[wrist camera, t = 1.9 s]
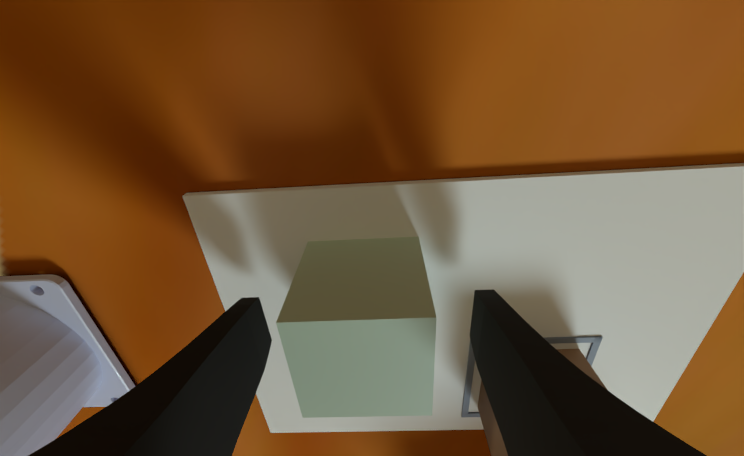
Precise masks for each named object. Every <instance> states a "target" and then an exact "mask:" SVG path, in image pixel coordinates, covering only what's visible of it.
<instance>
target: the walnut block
mask: <svg viewBox="0 0 744 456" xmlns="http://www.w3.org/2000/svg"><path fill="white" fill-rule="evenodd" d="M556 350H558V351H559V352H560V353H561V354H562V355H564V356H565V357H566V358H567V359H568V360H569V361H571V362H572V363H573V364H574V365H575V366H577V367H578V368H579V369H580V370H582V371H583V372H584V373H585V374H587V375H588V376H589V377H591V378H592V379H593V380H595V381H596V382H597V383H599V384H600V385H601V386H603V387H604V388H605V389H607V388H606V387H605V386H604V384H603V383H602V381H601V380H600V378H599V377H598V375H597V374H596V373H595V371H594V370H593V368H592V367H591V365H590V364H589V362H588V361H587V359H586V358H585V357H584V355H583V354H582V352H581V351H580V349H556ZM477 407H478V410H479V414H480V418H481V421H482V425H483V428H484V432H485V435H486V439H487V442H488V446H489V449H490V453H491V456H508V454H507V451H506V448H505V444H504V441H503V438H502V435H501V432H500V430H499V427H498V424H497V421H496V419H495V416H494V413H493V410H492V408H491V405H490V402H489V399H488V396H487V394H486V391H485V388H484V385H483V382H482V380H481V387H480V393H479V400H478V406H477Z"/></svg>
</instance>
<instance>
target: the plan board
mask: <svg viewBox="0 0 744 456" xmlns="http://www.w3.org/2000/svg"><path fill="white" fill-rule="evenodd" d="M182 197H183V200H184V202H185V205H186V208H187V210H188V213H189V216H190V218H191V221H192V224H193V226H194V229H195V232H196V234H197V237H198V240H199V242H200V245H201V248H202V250H203V253H204V256H205V258H206V261H207V264H208V266H209V269H210V272H211V274H212V277H213V280H214V282H215V285H216V288H217V290H218V293H219V296H220V298H221V301H222V304H223V306H224V309H225V312H226V311H227V310H228V309H229V308H230V307H231V306H232V305H234V304H235V303H236V302H237V301H238V300H239V299H241V298H248V297H259V299H260V302H261V305H262V309H263V312H264V315H265V319H266V322H267V325H268V329H269V332H270V335H271V339H272V343H271V347H270V351H269V355H268V359H267V363H266V366H265V370H264V373H263V375H262V378H261V381H260V383H259V386H258V388H257V391H256V394H257V397H258V400H259V402H260V405H261V408H262V411H263V413H264V416H265V419H266V421H267V424H268V427H269V429H270V432H271V433H286V432H353V431H419V430H484V428H483V425H482V421H481V418H480V414H479V410H478V407H477V406H478V400H479V393H480V387H481V377H480V374H479V371H478V368H477V365H476V361H475V357H474V353H473V349H472V344H471V340H470V327H471V318H472V309H473V301H474V292H475V290H491V289H494V290H495V291H496V292H497V293H498V294H499V295H500V296H501V297H502V298H503V299H504V300H505V301H506V302H507V303H508V304H509V305H510V306H511V307H512V308H513V309H514V310H515V311H516V312H517V313H518V314H519V315H520V316H521V317H522V318H523V319H524V320H525V321H526V322H527V323H528V324H529V325H530V326H531V327H532V328H534V329H535V330H536V331H537V332H538V333H539V334H540V335H541V336H542V337H543V338H544V339H545V340H546V341H548V342H549V343H550V344H551V345H552V346H553V347H554V348H555V349H580V351H581V352H582V354H583V355H584V357H585V358H586V359H587V361H588V362H589V364H590V365H591V367H592V368H593V370H594V371H595V373H596V374H597V375H598V377H599V378H600V380H601V381H602V383H603V384H604V386H605V387H606V388H607V390H608V391H609V392H611V393H612V394H613V395H615V396H616V397H617V398H619V399H620V400H622V401H623V402H625V403H626V404H627V405H629V406H630V407H632V408H633V409H635V410H636V411H638V412H639V413H641V414H642V415H644V416H645V417H647V418H648V419H650V420H651V421H654V419H655V418H656V416H657V414H658V413H659V411H660V410H661V408H662V406H663V405H664V403H665V401H666V400H667V398H668V396H669V395H670V393H671V391H672V390H673V388H674V386H675V385H676V383H677V381H678V380H679V378H680V376H681V375H682V373H683V371H684V370H685V368H686V366H687V365H688V363H689V362H690V360H691V358H692V357H693V355H694V353H695V352H696V350H697V348H698V347H699V345H700V343H701V342H702V340H703V338H704V337H705V335H706V333H707V332H708V330H709V328H710V327H711V325H712V323H713V322H714V320H715V319H716V317H717V315H718V314H719V312H720V310H721V309H722V307H723V305H724V304H725V302H726V300H727V299H728V297H729V295H730V294H731V292H732V290H733V289H734V287H735V285H736V284H737V282H738V280H739V279H740V277H741V275H742V274H743V272H744V163H735V164H716V165H697V166H678V167H660V168H641V169H622V170H604V171H585V172H566V173H547V174H529V175H510V176H491V177H472V178H454V179H435V180H416V181H397V182H379V183H360V184H341V185H322V186H304V187H285V188H266V189H248V190H229V191H210V192H191V193H186V194H184V195H183V196H182ZM397 237H419V241H420V245H421V250H422V254H423V259H424V263H425V268H426V272H427V277H428V281H429V286H430V290H431V295H432V299H433V304H434V309H435V313H436V340H435V363H434V386H433V408H432V416H374V417H316V418H303V417H302V414H301V410H300V407H299V403H298V399H297V396H296V392H295V389H294V385H293V382H292V378H291V374H290V371H289V367H288V364H287V360H286V357H285V353H284V350H283V346H282V342H281V339H280V335H279V332H278V328H277V325H276V321H277V319H278V316H279V314H280V311H281V309H282V306H283V304H284V301H285V298H286V296H287V293H288V291H289V288H290V286H291V283H292V281H293V278H294V276H295V273H296V271H297V268H298V265H299V263H300V260H301V258H302V255H303V253H304V250H305V248H306V245H307V243H308V241H330V240H352V239H375V238H397Z"/></svg>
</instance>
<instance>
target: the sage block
mask: <svg viewBox="0 0 744 456" xmlns="http://www.w3.org/2000/svg"><path fill="white" fill-rule="evenodd" d="M276 325H277V328H278V332H279V335H280V339H281V342H282V346H283V350H284V353H285V357H286V360H287V364H288V367H289V371H290V374H291V378H292V382H293V385H294V389H295V392H296V396H297V399H298V403H299V407H300V410H301V414H302V417H303V418H316V417H374V416H432V408H433V386H434V363H435V340H436V313H435V309H434V304H433V299H432V295H431V290H430V286H429V281H428V277H427V272H426V268H425V263H424V259H423V254H422V250H421V245H420V241H419V237H397V238H375V239H352V240H330V241H308V243H307V245H306V248H305V250H304V253H303V255H302V258H301V260H300V263H299V265H298V268H297V271H296V273H295V276H294V278H293V281H292V283H291V286H290V288H289V291H288V293H287V296H286V298H285V301H284V304H283V306H282V309H281V311H280V314H279V316H278V319H277V321H276Z"/></svg>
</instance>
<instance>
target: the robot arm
mask: <svg viewBox="0 0 744 456" xmlns="http://www.w3.org/2000/svg"><path fill="white" fill-rule="evenodd" d="M470 340H471V344H472V349H473V353H474V357H475V361H476V365H477V368H478V371H479V374H480V377H481V380H482V382H483V385H484V388H485V391H486V394H487V396H488V399H489V402H490V405H491V408H492V410H493V413H494V416H495V419H496V421H497V424H498V427H499V430H500V432H501V435H502V438H503V441H504V444H505V448H506V451H507V454H508V456H706V455H705V454H703V453H701V452H700V451H698V450H696V449H695V448H693V447H691V446H690V445H688V444H687V443H685V442H684V441H682V440H680V439H679V438H677V437H676V436H674V435H672V434H671V433H669V432H668V431H666V430H665V429H663V428H662V427H660V426H659V425H657V424H656V423H654V422H653V421H651V420H650V419H648V418H647V417H645V416H644V415H642V414H641V413H639V412H638V411H636V410H635V409H633V408H632V407H630V406H629V405H627V404H626V403H625V402H623V401H622V400H620V399H619V398H617V397H616V396H615V395H613V394H612V393H611V392H609V391H608V390H607V389H605V388H604V387H603V386H601V385H600V384H599V383H597V382H596V381H595V380H593V379H592V378H591V377H589V376H588V375H587V374H585V373H584V372H583V371H582V370H580V369H579V368H578V367H577V366H575V365H574V364H573V363H572V362H571V361H569V360H568V359H567V358H566V357H565V356H564V355H562V354H561V353H560V352H559V351H558V350H556V349H555V348H554V347H553V346H552V345H551V344H550V343H549V342H548V341H546V340H545V339H544V338H543V337H542V336H541V335H540V334H539V333H538V332H537V331H536V330H535V329H534V328H532V327H531V326H530V325H529V324H528V323H527V322H526V321H525V320H524V319H523V318H522V317H521V316H520V315H519V314H518V313H517V312H516V311H515V310H514V309H513V308H512V307H511V306H510V305H509V304H508V303H507V302H506V301H505V300H504V299H503V298H502V297H501V296H500V295H499V294H498V293H497V292H496V291H495V290H494V289H491V290H475V292H474V301H473V309H472V318H471V327H470ZM271 343H272V339H271V335H270V332H269V329H268V325H267V322H266V319H265V315H264V312H263V309H262V305H261V302H260V299H259V297H248V298H241V299H239V300H238V301H237V302H236V303H235V304H234V305H232V306H231V307H230V308H229V309H228V310H227V311H226V312H224V313H223V314H222V315H221V316H220V317H219V318H218V319H217V320H216V321H214V322H213V323H212V324H211V325H210V326H209V327H208V328H207V329H205V330H204V331H203V332H202V333H201V334H200V335H199V336H197V337H196V338H195V339H194V340H193V341H192V342H191V343H189V344H188V345H187V346H186V347H185V348H183V349H182V350H181V351H180V352H179V353H177V354H176V355H175V356H174V357H172V358H171V359H170V360H169V361H167V362H166V363H165V364H164V365H163V366H161V367H160V368H159V369H158V370H156V371H155V372H154V373H153V374H151V375H150V376H149V377H147V378H146V379H145V380H143V381H142V382H141V383H139V384H138V385H137V386H135V385H134V383H133V382H132V380H131V379H130V377H129V375H128V374H127V372H126V371H125V369H124V368H123V366H122V365H121V363H120V362H119V360H118V358H117V357H116V355H115V354H114V352H113V351H112V349H111V348H110V346H109V345H108V343H107V342H106V340H105V338H104V337H103V335H102V334H101V332H100V331H99V329H98V328H97V326H96V325H95V323H94V321H93V320H92V318H91V317H90V315H89V314H88V312H87V311H86V309H85V308H84V306H83V305H82V303H81V301H80V300H79V298H78V297H77V295H76V294H75V292H74V291H73V289H72V288H71V286H70V284H69V283H68V282H67V281H66V280H65V279H64V278H62V277H60V276H58V275H52V274H45V275H21V276H0V456H232V453H233V451H234V448H235V445H236V442H237V439H238V437H239V434H240V432H241V429H242V427H243V424H244V421H245V419H246V416H247V414H248V411H249V409H250V406H251V404H252V401H253V399H254V396H255V394H256V391H257V388H258V386H259V383H260V381H261V378H262V375H263V373H264V370H265V366H266V363H267V359H268V355H269V351H270V347H271ZM82 407H105V408H104V409H102V410H101V411H99V412H98V413H96V414H94V415H93V416H91V417H90V418H88V419H87V420H85V421H84V422H82V423H81V424H79V425H77V426H76V427H74V428H73V429H71V430H70V431H68V432H67V433H65V434H63V435H62V436H60V437H59V438H57V437H58V435H59V434H60V433H61V432H62V431H63V430H64V428H65V427H66V426H67V425H68V424H69V423H70V421H71V420H72V419H73V418H74V417H75V416H76V414H77V413H78V412H79V411H80V410H81V408H82ZM56 438H57V439H56Z"/></svg>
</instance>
